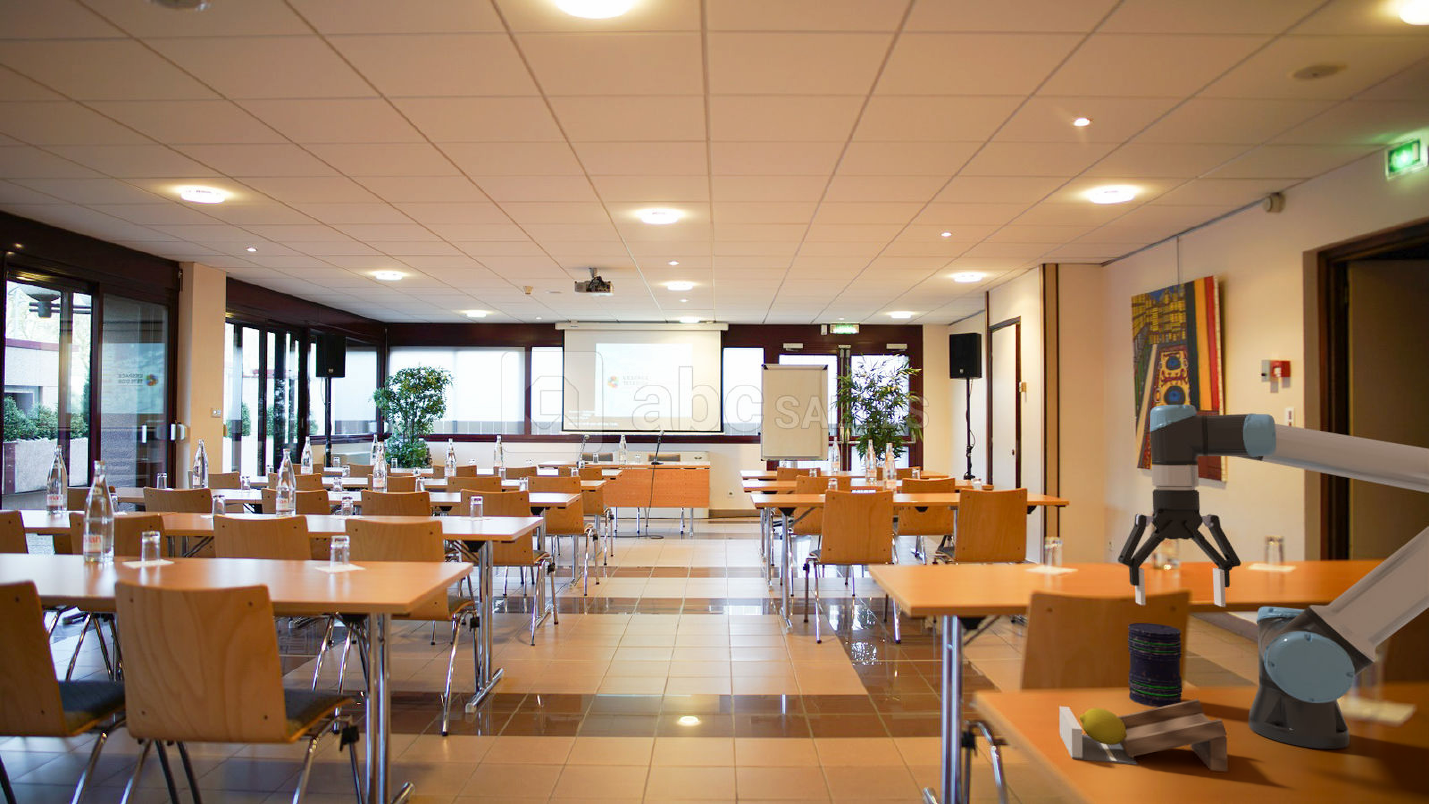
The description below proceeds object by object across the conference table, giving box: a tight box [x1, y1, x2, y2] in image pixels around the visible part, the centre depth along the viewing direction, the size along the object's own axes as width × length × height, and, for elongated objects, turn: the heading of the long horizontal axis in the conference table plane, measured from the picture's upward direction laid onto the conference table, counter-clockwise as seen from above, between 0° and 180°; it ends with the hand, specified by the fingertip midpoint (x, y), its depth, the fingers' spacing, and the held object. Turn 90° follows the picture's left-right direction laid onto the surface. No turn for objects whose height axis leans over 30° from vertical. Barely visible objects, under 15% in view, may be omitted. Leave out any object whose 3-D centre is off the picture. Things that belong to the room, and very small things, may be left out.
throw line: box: [1101, 743, 1117, 764], centre depth 141 cm, size 1×12×1 cm, turn 166°
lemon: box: [1079, 707, 1127, 745], centre depth 141 cm, size 6×6×8 cm
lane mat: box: [1060, 734, 1138, 766], centre depth 142 cm, size 10×12×1 cm
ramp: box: [1117, 698, 1228, 772], centre depth 139 cm, size 15×12×8 cm
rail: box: [1059, 705, 1083, 761], centre depth 143 cm, size 2×12×5 cm, turn 167°
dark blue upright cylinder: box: [1127, 622, 1183, 708], centre depth 170 cm, size 10×10×15 cm
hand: (1180, 604), depth 149 cm, fingers open, 13 cm apart
